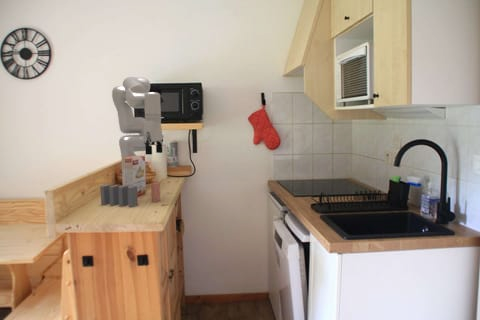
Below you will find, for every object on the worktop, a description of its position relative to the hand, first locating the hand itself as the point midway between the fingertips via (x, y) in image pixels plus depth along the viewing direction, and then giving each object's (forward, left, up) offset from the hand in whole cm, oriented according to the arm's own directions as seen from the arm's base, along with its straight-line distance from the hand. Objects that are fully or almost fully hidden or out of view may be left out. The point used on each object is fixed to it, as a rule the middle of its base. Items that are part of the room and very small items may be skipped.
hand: (154, 153), depth 178 cm
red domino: (0, 0, -24) cm, 24 cm away
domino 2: (+12, -15, -24) cm, 31 cm away
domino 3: (+12, -10, -24) cm, 28 cm away
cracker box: (-10, -18, -24) cm, 32 cm away
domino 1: (+12, -20, -24) cm, 33 cm away
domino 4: (+12, -5, -24) cm, 27 cm away
